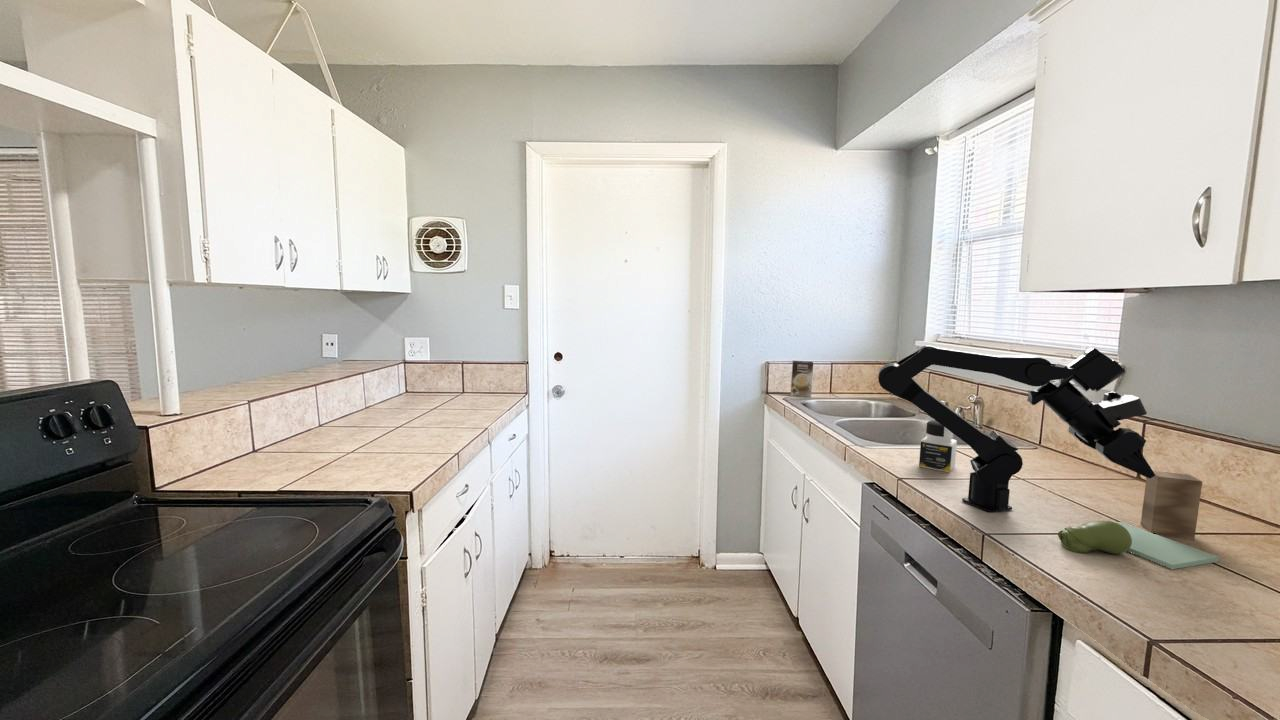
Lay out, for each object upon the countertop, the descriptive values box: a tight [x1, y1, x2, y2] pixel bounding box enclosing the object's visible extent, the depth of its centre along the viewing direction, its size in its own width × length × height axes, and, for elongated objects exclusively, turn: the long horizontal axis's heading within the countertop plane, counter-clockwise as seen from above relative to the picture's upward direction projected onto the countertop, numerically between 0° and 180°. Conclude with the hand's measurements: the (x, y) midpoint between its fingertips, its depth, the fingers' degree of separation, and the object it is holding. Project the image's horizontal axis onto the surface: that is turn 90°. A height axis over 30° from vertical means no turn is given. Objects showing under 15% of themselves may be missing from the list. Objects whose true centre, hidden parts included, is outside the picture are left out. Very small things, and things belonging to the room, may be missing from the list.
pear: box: [1057, 520, 1132, 555], centre depth 88 cm, size 6×5×10 cm
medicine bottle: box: [918, 419, 958, 473], centre depth 132 cm, size 7×7×12 cm
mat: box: [1115, 521, 1220, 570], centre depth 90 cm, size 14×11×1 cm
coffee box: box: [790, 360, 814, 399], centre depth 233 cm, size 9×6×16 cm
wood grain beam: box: [1140, 470, 1203, 541], centre depth 95 cm, size 6×4×11 cm, turn 65°
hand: (1140, 469), depth 96 cm, fingers open, 9 cm apart
